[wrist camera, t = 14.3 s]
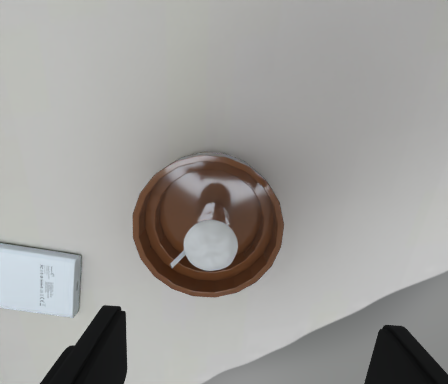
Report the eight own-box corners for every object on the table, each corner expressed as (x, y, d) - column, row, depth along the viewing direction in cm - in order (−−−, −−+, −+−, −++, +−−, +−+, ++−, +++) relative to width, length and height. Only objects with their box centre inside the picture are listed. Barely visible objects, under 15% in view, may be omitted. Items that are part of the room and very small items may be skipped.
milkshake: (182, 203, 28) (162, 239, 18) (228, 192, 28) (231, 223, 18) (193, 239, 29) (178, 291, 19) (237, 228, 29) (245, 277, 19)
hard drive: (-23, 237, 30) (82, 254, 30) (-20, 296, 31) (79, 311, 32) (-37, 243, 28) (74, 260, 29) (-33, 305, 30) (71, 320, 30)
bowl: (147, 147, 27) (131, 150, 22) (280, 156, 28) (292, 161, 23) (147, 267, 31) (133, 292, 26) (265, 274, 31) (273, 301, 26)
